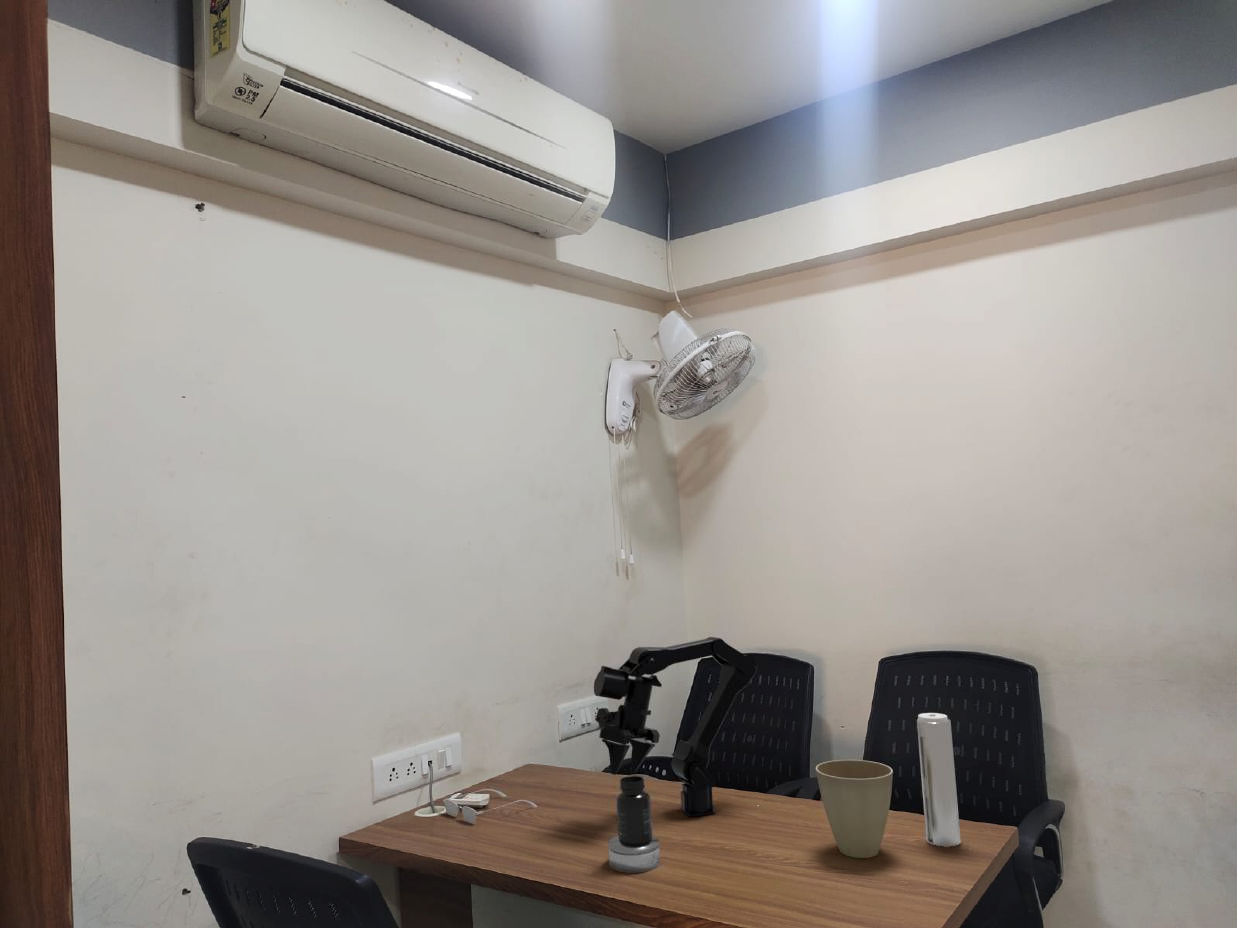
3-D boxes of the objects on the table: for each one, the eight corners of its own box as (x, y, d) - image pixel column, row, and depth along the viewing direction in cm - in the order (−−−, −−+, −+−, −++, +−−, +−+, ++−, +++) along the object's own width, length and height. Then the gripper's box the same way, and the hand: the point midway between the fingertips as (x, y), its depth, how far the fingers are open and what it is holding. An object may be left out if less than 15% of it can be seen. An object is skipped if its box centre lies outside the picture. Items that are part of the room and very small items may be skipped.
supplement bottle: (643, 833, 168) (640, 772, 169) (658, 843, 162) (655, 780, 163) (612, 839, 165) (609, 777, 167) (627, 850, 159) (624, 785, 160)
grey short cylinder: (650, 850, 170) (649, 830, 170) (667, 867, 160) (665, 846, 160) (603, 857, 167) (602, 837, 167) (617, 875, 157) (616, 853, 158)
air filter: (963, 847, 163) (952, 717, 166) (929, 846, 165) (918, 718, 167) (957, 836, 170) (946, 711, 172) (924, 835, 171) (914, 711, 173)
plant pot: (894, 869, 154) (887, 781, 156) (814, 860, 160) (808, 775, 162) (903, 842, 168) (896, 761, 169) (829, 834, 174) (823, 756, 175)
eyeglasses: (442, 814, 201) (442, 797, 201) (504, 797, 213) (503, 781, 213) (477, 828, 190) (476, 810, 190) (540, 809, 202) (539, 792, 202)
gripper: (625, 696, 202) (612, 762, 199) (586, 694, 186) (572, 765, 183) (665, 707, 196) (653, 775, 193) (629, 705, 181) (615, 779, 178)
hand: (623, 773), depth 187 cm, fingers open, 9 cm apart
